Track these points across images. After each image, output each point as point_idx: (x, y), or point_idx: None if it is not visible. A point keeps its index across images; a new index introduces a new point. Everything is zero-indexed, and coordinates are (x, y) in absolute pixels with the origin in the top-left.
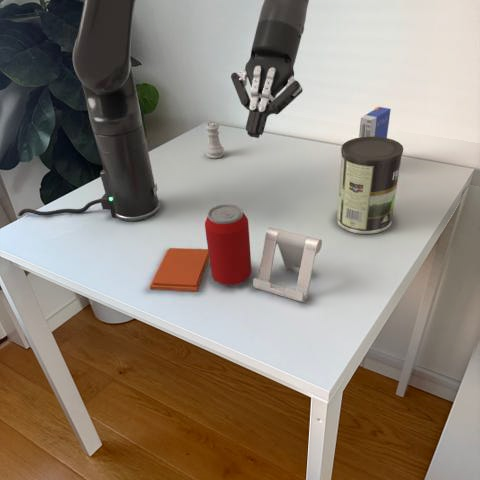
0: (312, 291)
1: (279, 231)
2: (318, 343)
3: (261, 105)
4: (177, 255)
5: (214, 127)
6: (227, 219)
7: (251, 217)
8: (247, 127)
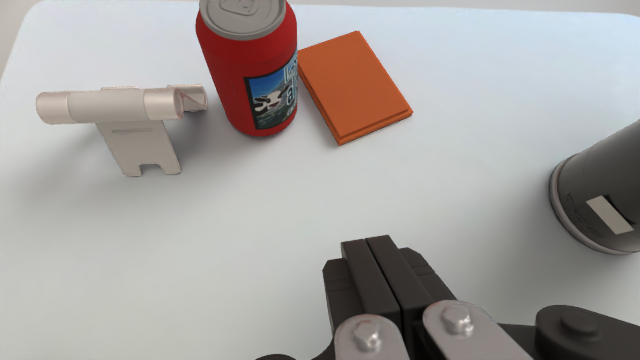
0: None
1: (142, 92)
2: (64, 47)
3: (382, 348)
4: (378, 97)
5: None
6: None
7: None
8: (409, 256)
